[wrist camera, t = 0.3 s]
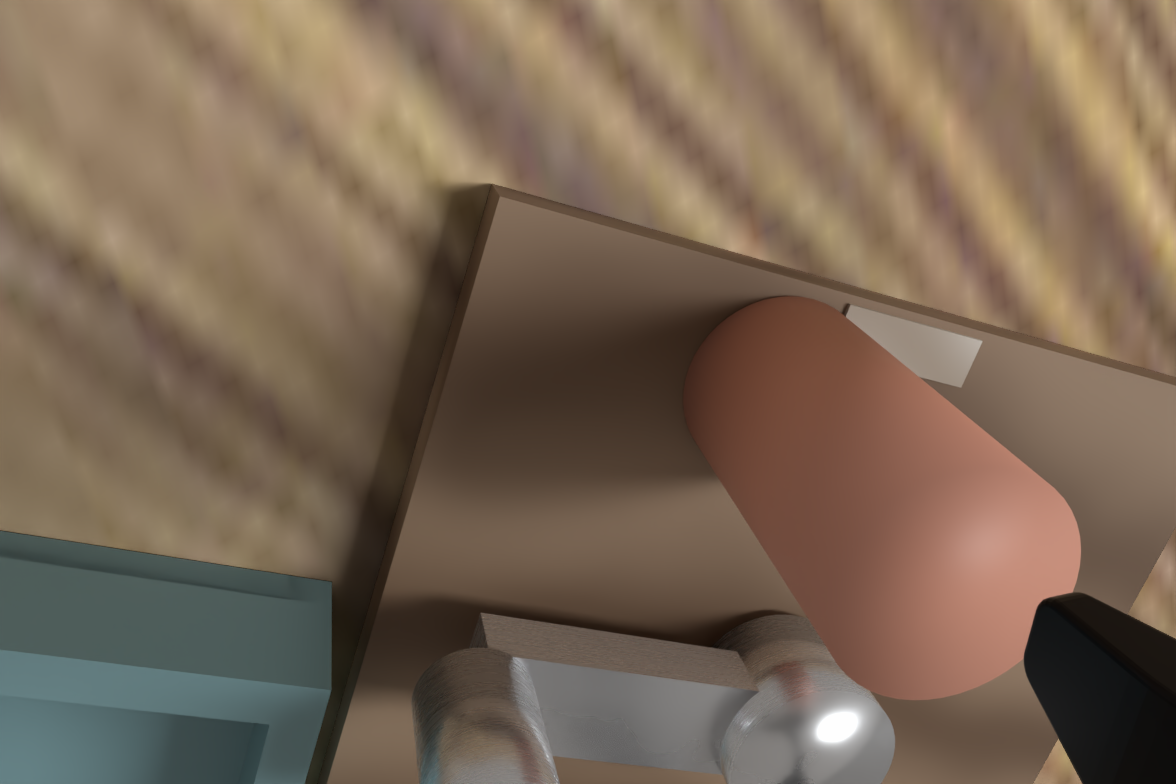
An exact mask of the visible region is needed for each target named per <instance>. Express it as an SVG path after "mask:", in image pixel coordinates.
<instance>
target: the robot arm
mask: <svg viewBox="0 0 1176 784" xmlns="http://www.w3.org/2000/svg"><path fill="white" fill-rule="evenodd" d="M1024 668H1025V672H1026V676H1027V678H1028V681H1029V683H1030V685H1031V687H1032V689H1033V690H1034V692H1035V694H1036V696H1037V698H1038V700H1039V702H1040V704H1041V706H1042V708H1043V709H1044V711H1045V713H1046V715H1047V717H1048V719H1049V721H1050V723H1051V725H1052V727H1053V729H1054V730H1055V732H1056V734H1057V736H1058V738H1059V740H1060V742H1061V744H1062V746H1063V748H1064V749H1065V751H1066V753H1067V755H1068V757H1069V759H1070V761H1071V763H1072V765H1073V767H1074V768H1075V770H1076V772H1077V774H1078V776H1079V778H1080V780H1081V782H1082V784H1176V639H1175V638H1173V637H1171V636H1169V635H1167V634H1165V633H1163V632H1161V631H1159V630H1157V629H1155V628H1153V627H1151V626H1149V625H1147V624H1145V623H1143V622H1141V621H1139V620H1137V619H1135V618H1133V617H1131V616H1129V615H1127V614H1125V613H1124V612H1122V611H1120V610H1118V609H1116V608H1114V607H1112V606H1110V605H1108V604H1106V603H1104V602H1102V601H1100V600H1098V599H1096V598H1094V597H1092V596H1090V595H1087V594H1085V593H1081V592H1072V593H1067V594H1062V595H1058V596H1053V597H1049V598H1046V599H1043V600H1042V601H1041V602H1040V603H1039V605H1038V606H1037V609H1036V612H1035V615H1034V619H1033V623H1032V626H1031V630H1030V633H1029V637H1028V641H1027V644H1026V648H1025V651H1024Z"/></svg>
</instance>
